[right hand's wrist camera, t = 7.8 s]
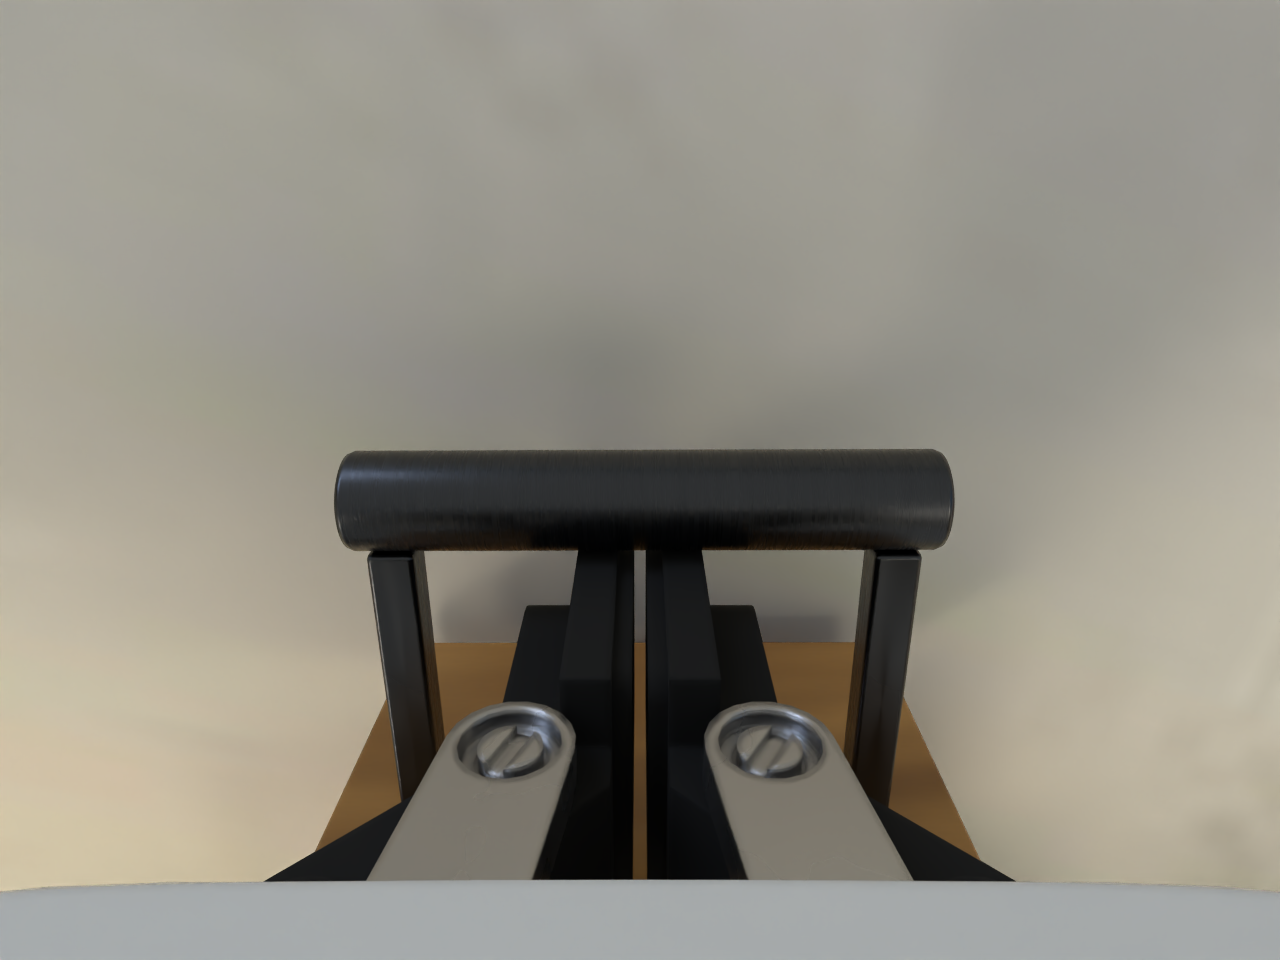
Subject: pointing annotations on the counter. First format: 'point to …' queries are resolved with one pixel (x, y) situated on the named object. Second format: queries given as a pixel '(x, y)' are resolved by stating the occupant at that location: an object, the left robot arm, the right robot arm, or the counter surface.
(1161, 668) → the counter surface
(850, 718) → the drawer
